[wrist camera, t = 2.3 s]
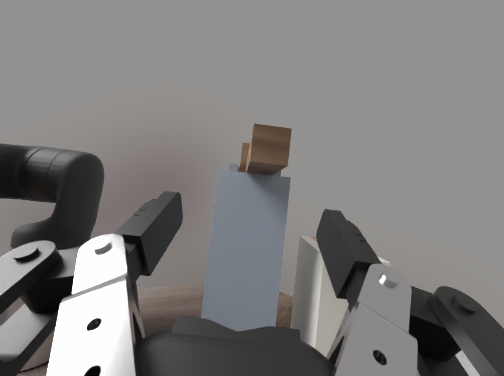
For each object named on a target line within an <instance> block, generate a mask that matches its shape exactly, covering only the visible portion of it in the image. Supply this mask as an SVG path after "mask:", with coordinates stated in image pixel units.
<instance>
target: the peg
mask: <svg viewBox="0 0 504 376" xmlns="http://www.w3.org/2000/svg"><path fill="white" fill-rule="evenodd" d="M290 138H291V129H290V128H283V127H275V126H268V125H260V124H254V127H253V131H252V136H251V141H250V144H249V143H243V146H242V155H241V164H240V172H245V173H254V174H263V175H273V174H275V173H277V172H278V171H280V170H282V169H283V168H285V167H287V166H288V157H289V148H290Z"/></svg>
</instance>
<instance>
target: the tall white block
mask: <svg viewBox="0 0 504 376" xmlns="http://www.w3.org/2000/svg"><path fill="white" fill-rule="evenodd" d="M378 258H379V257H378ZM379 260H380V261H381V263H382V264H383V265H386V266H389V267H390V263H389V262H387V261H385V260H383V259H381V258H379ZM348 305H349V304H348V302H347V299H339V298H336V295H335V292H334V289H333V287H332V284H331V281H330V278H329V275H328V272H327V269H326V267H325V264H324V261H323V258H322V255H321V252H320V249H319V247H318V244H317V239H316V237H311V236H302V235H300V236H299V247H298V257H297V267H296V277H295V287H294V297H293V307H292V317H291V327H290V328H292V329H299V330H300V337H301V341H303V342H305V343H307V344H309V345H311V346H312V347H314V348H315V349H316V350H318V351H319V352H320V353H321V354H323V355H324V356H325V357H326V356H327V354H328V352H329V350H330V348H331V346H332V344H333V341H334V339H335V336H336V333H337V331H338V328H339V326H340V323H341V321H342V318H343V316H344V313H345V311H346V308H347V306H348Z"/></svg>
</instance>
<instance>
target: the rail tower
mask: <svg viewBox="0 0 504 376" xmlns="http://www.w3.org/2000/svg"><path fill="white" fill-rule="evenodd" d="M280 174H281V170H280V171H278V172H277V173H275V174H273V175H263V174H254V173H245V172H240V168H239V166H238V165H237V164H229V171H227V170H218V178H217V186H216V194H215V203H214V212H213V220H212V228H211V236H210V245H209V253H208V262H207V270H206V279H205V287H204V295H203V304H202V312H201V318H205V319H209V320H211V321H214V322H216V323H218V324H220V325H223V326H225V327H227V328H230V329H232V330H234V331H245V330H250V329H255V328H261V327H266V326H275V325H276V316H277V306H278V296H279V286H280V277H281V266H282V256H283V247H284V237H285V227H286V217H287V208H288V198H289V189H290V179H291V178H290V177H281V176H280Z"/></svg>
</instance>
